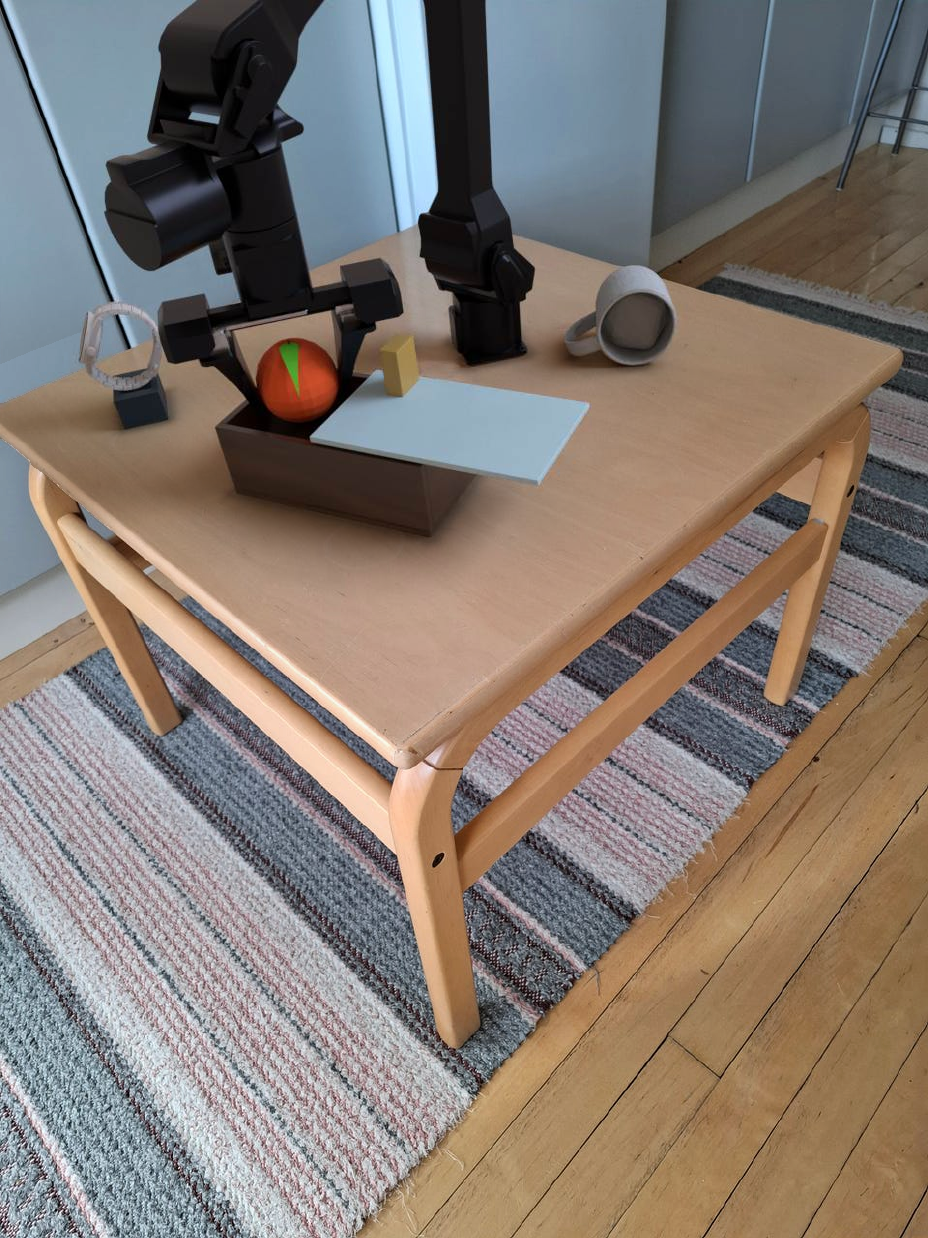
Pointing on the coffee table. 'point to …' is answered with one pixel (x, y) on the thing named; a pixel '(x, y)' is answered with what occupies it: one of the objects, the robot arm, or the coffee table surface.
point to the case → (334, 472)
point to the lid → (451, 421)
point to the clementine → (297, 380)
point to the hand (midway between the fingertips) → (303, 404)
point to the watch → (132, 391)
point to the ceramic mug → (627, 318)
